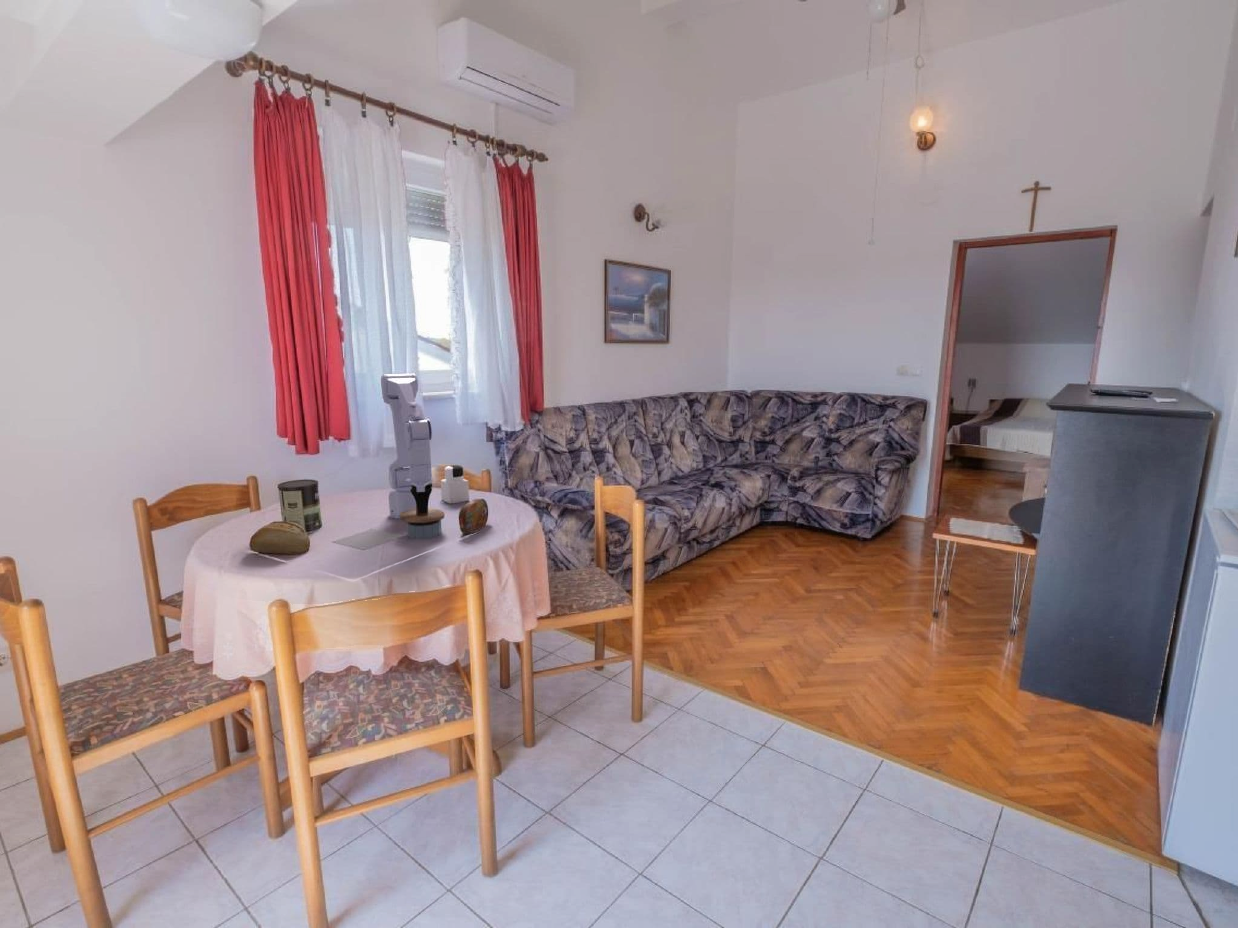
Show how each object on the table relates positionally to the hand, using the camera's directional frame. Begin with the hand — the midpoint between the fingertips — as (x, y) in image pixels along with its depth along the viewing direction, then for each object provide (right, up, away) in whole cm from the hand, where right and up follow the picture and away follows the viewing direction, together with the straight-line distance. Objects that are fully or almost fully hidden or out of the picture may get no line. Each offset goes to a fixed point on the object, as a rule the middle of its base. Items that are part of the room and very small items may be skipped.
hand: (423, 511), depth 172 cm
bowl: (0, -7, +1) cm, 7 cm away
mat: (-14, -8, -4) cm, 16 cm away
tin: (+13, -6, +6) cm, 16 cm away
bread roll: (-33, -10, -13) cm, 36 cm away
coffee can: (-36, -6, +5) cm, 37 cm away
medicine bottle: (-1, 0, +39) cm, 39 cm away
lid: (0, -2, 0) cm, 2 cm away
